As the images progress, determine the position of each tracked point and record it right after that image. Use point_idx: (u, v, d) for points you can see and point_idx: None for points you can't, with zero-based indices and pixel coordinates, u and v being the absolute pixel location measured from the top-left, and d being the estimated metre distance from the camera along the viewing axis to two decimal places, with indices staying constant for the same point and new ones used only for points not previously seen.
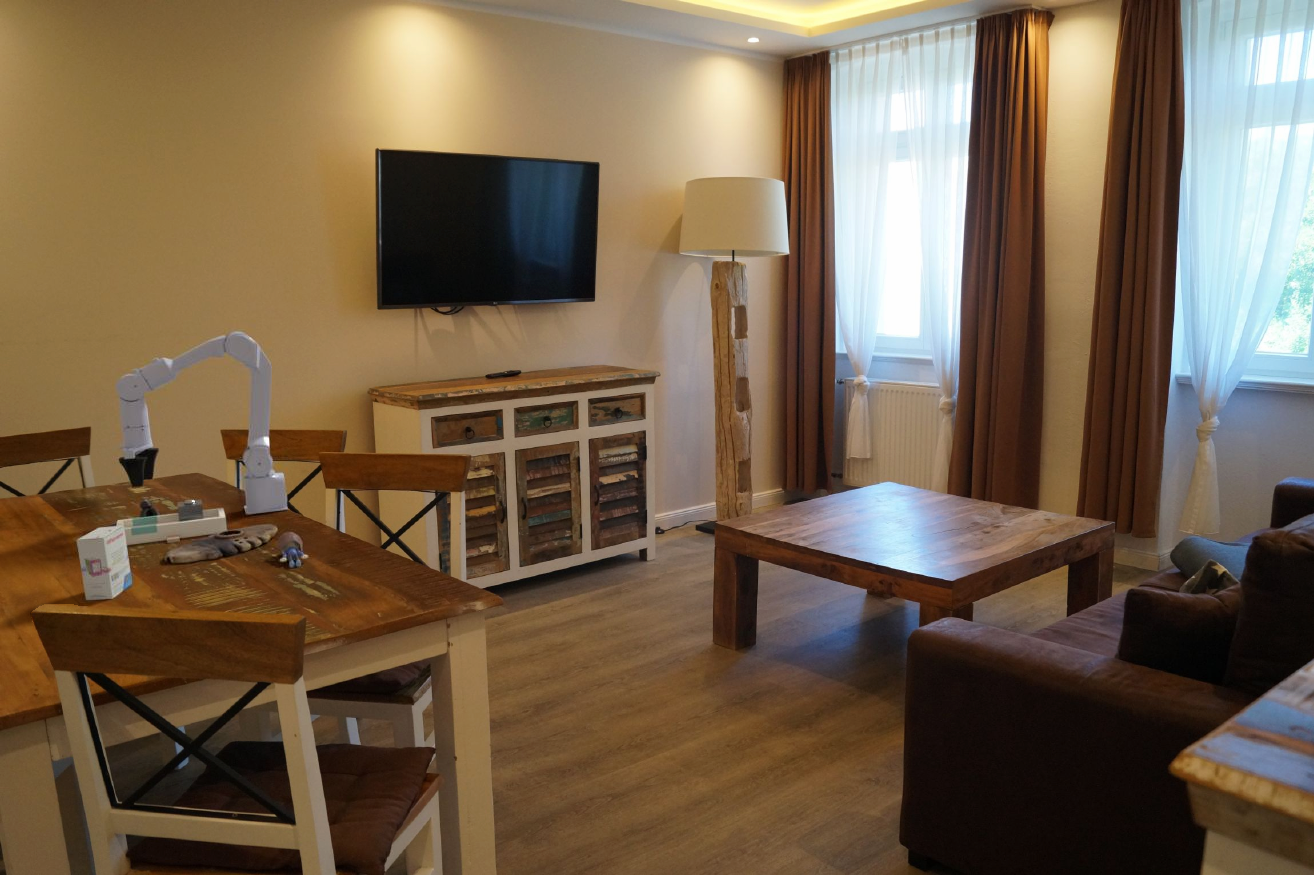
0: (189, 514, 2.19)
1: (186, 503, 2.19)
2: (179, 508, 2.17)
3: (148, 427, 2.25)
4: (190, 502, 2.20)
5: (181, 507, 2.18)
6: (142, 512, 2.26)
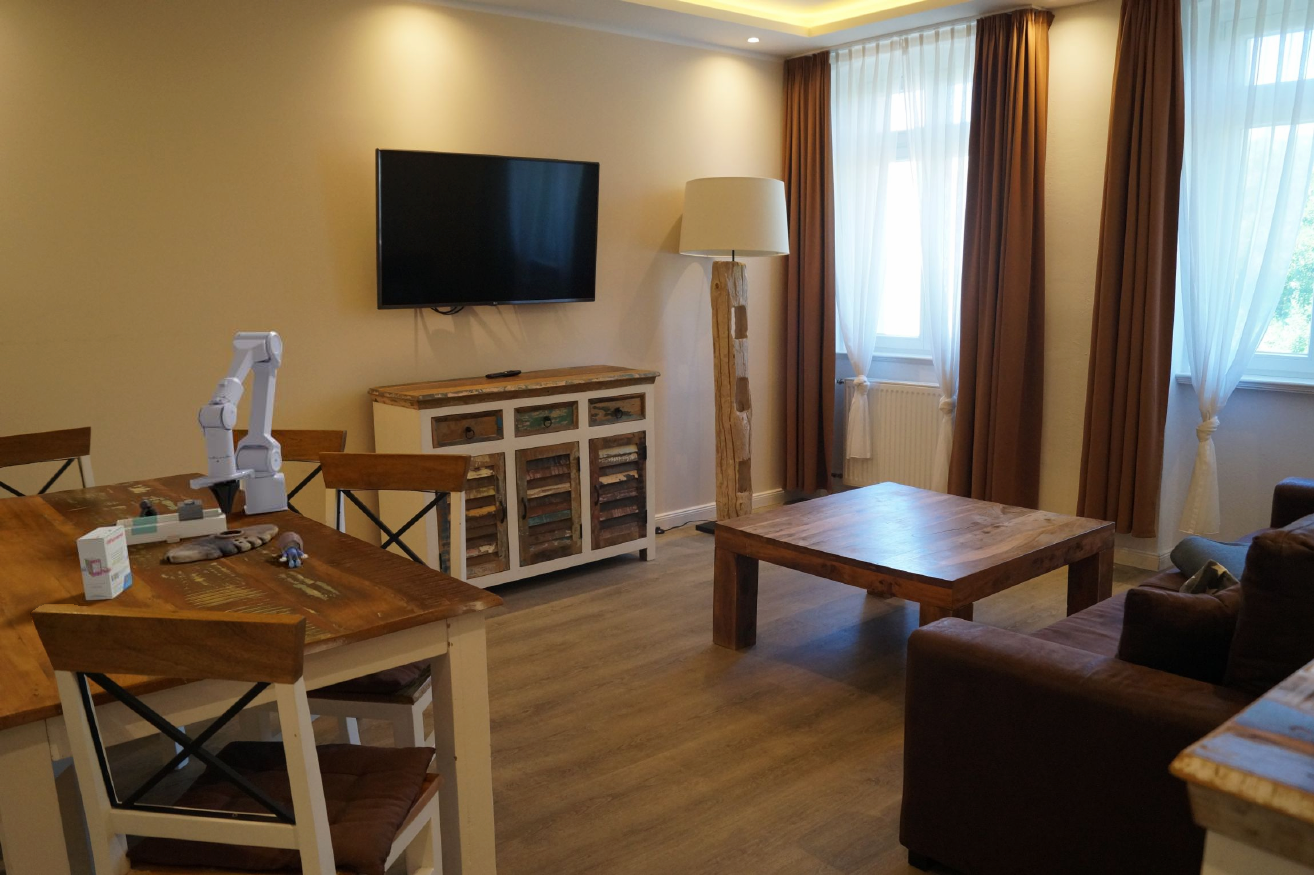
0: (189, 514, 2.19)
1: (186, 503, 2.19)
2: (179, 508, 2.17)
3: (226, 459, 2.20)
4: (190, 502, 2.20)
5: (181, 507, 2.18)
6: (141, 512, 2.26)
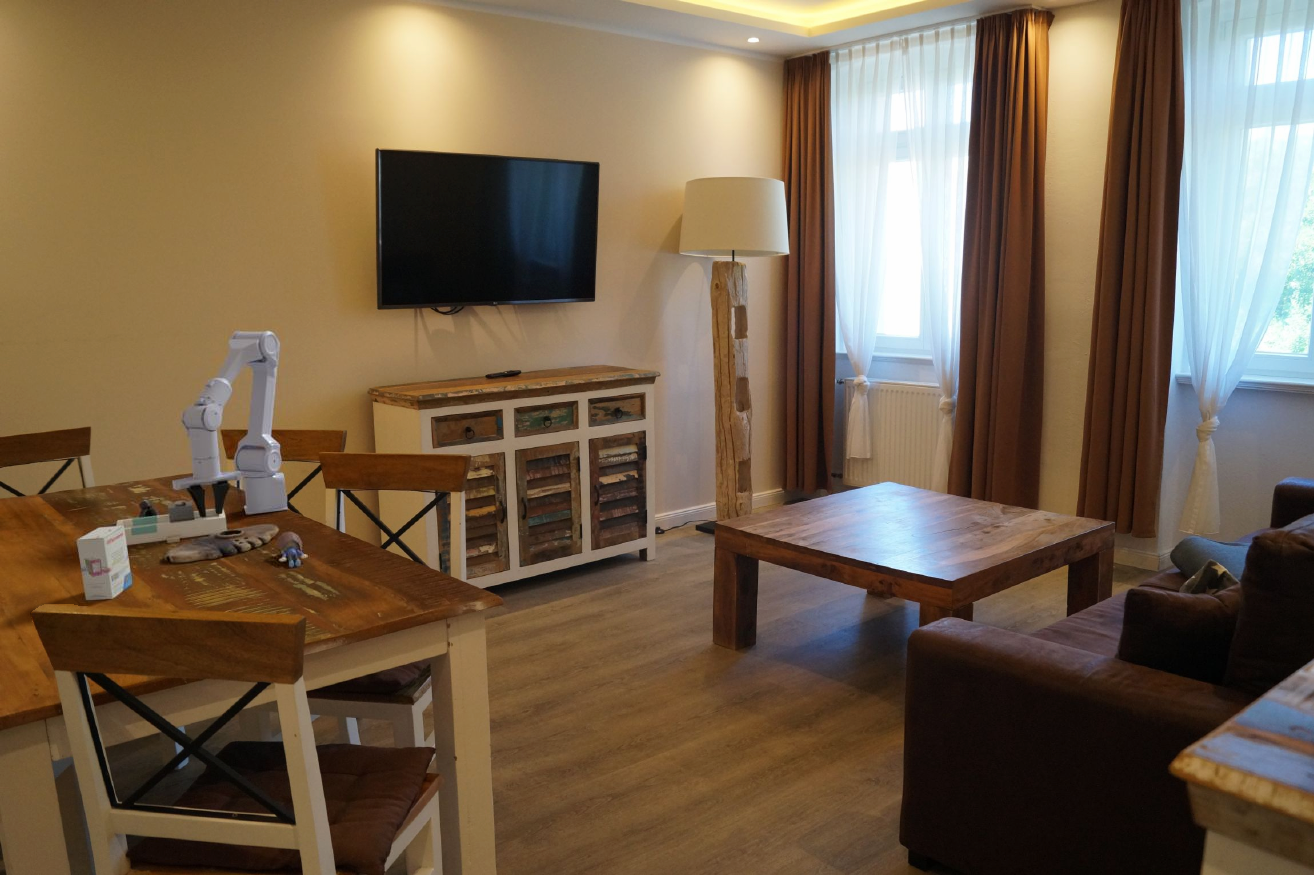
0: (179, 515, 2.18)
1: (177, 504, 2.19)
2: (170, 509, 2.17)
3: (208, 460, 2.18)
4: (181, 503, 2.19)
5: (172, 508, 2.17)
6: (141, 512, 2.26)
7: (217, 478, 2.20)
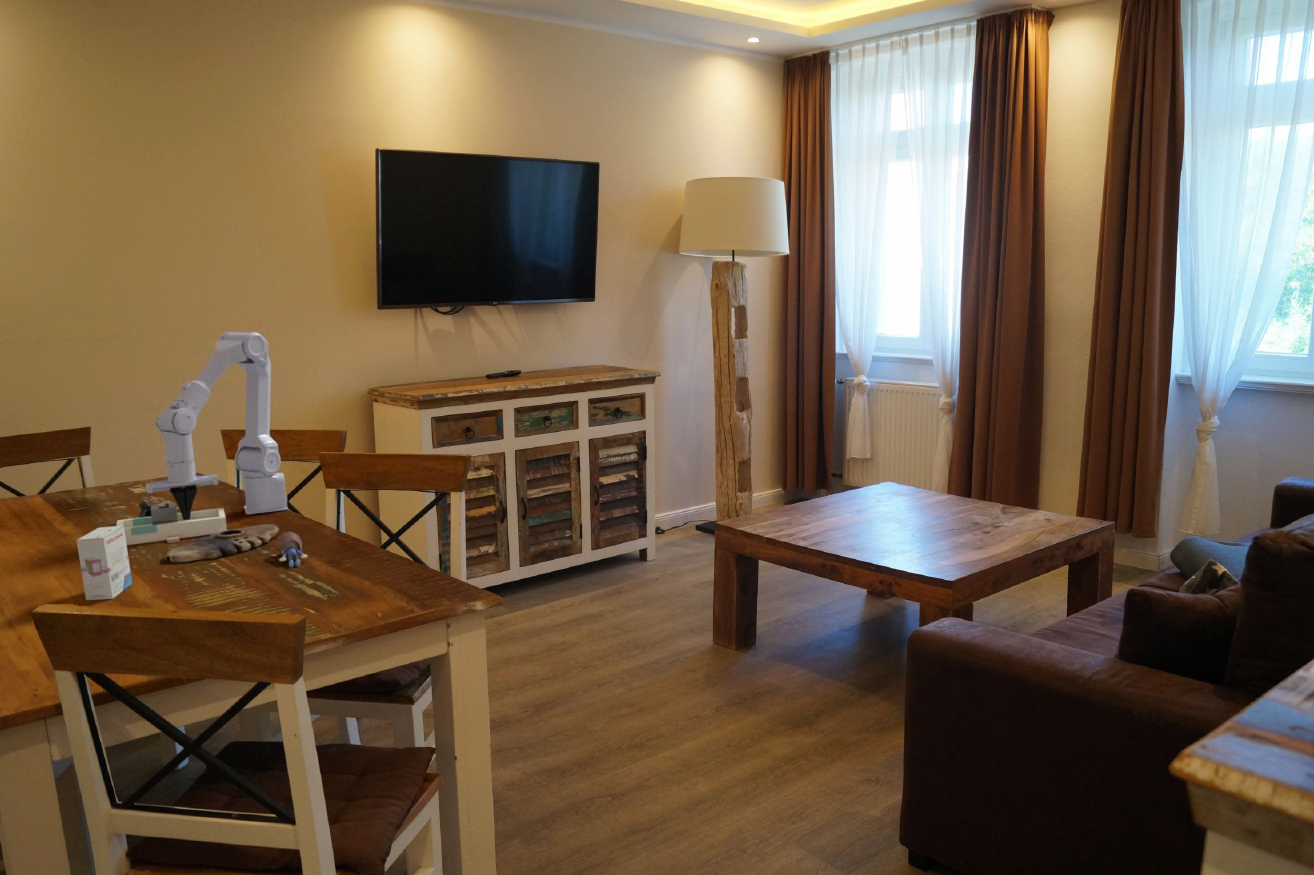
0: (162, 517, 2.16)
1: (160, 506, 2.17)
2: (152, 511, 2.15)
3: (180, 464, 2.16)
4: (164, 505, 2.17)
5: (154, 510, 2.15)
6: (141, 512, 2.26)
7: (190, 482, 2.17)
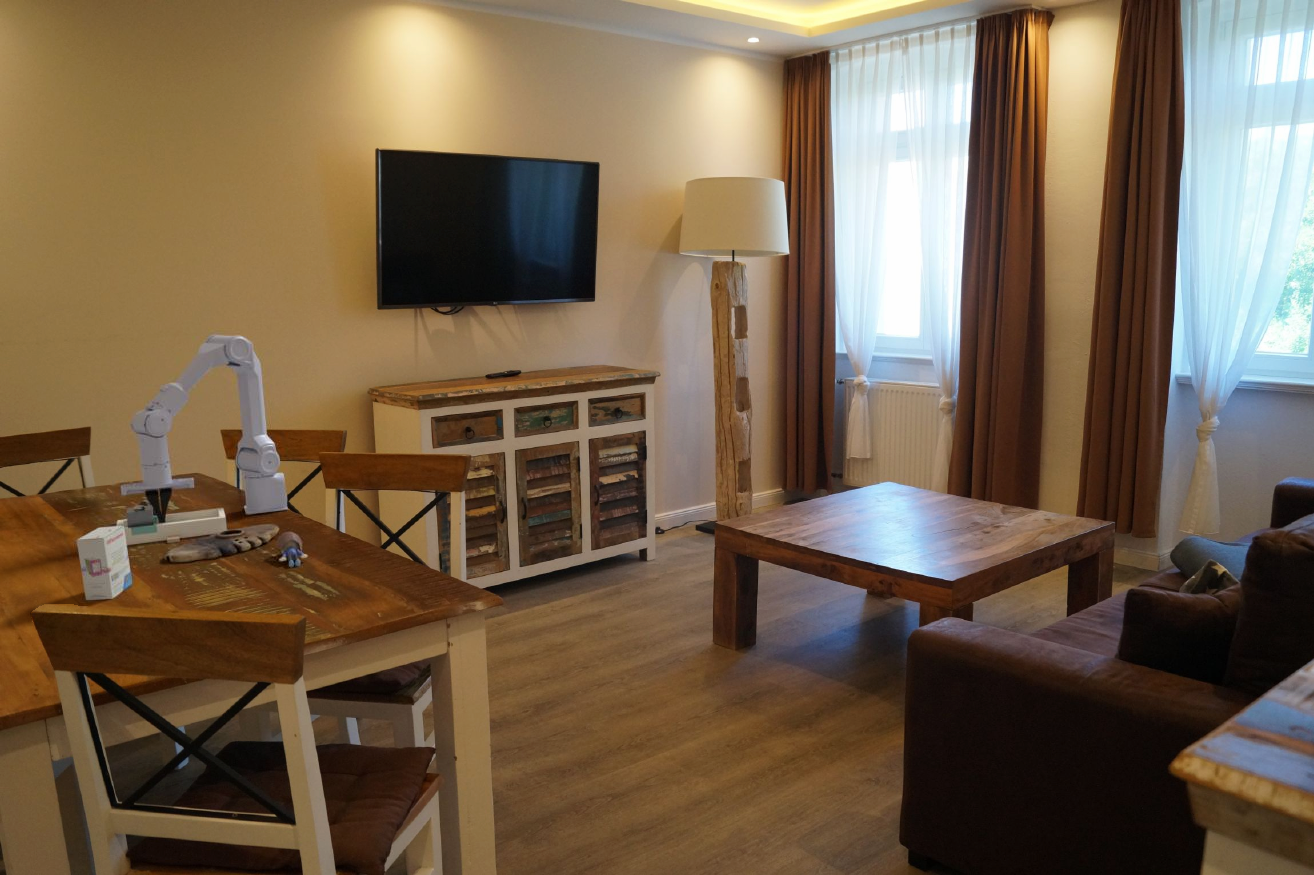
0: (138, 520, 2.14)
1: (135, 509, 2.15)
2: (128, 514, 2.13)
3: (154, 467, 2.14)
4: (140, 508, 2.15)
5: (130, 513, 2.13)
6: None
7: (163, 485, 2.15)
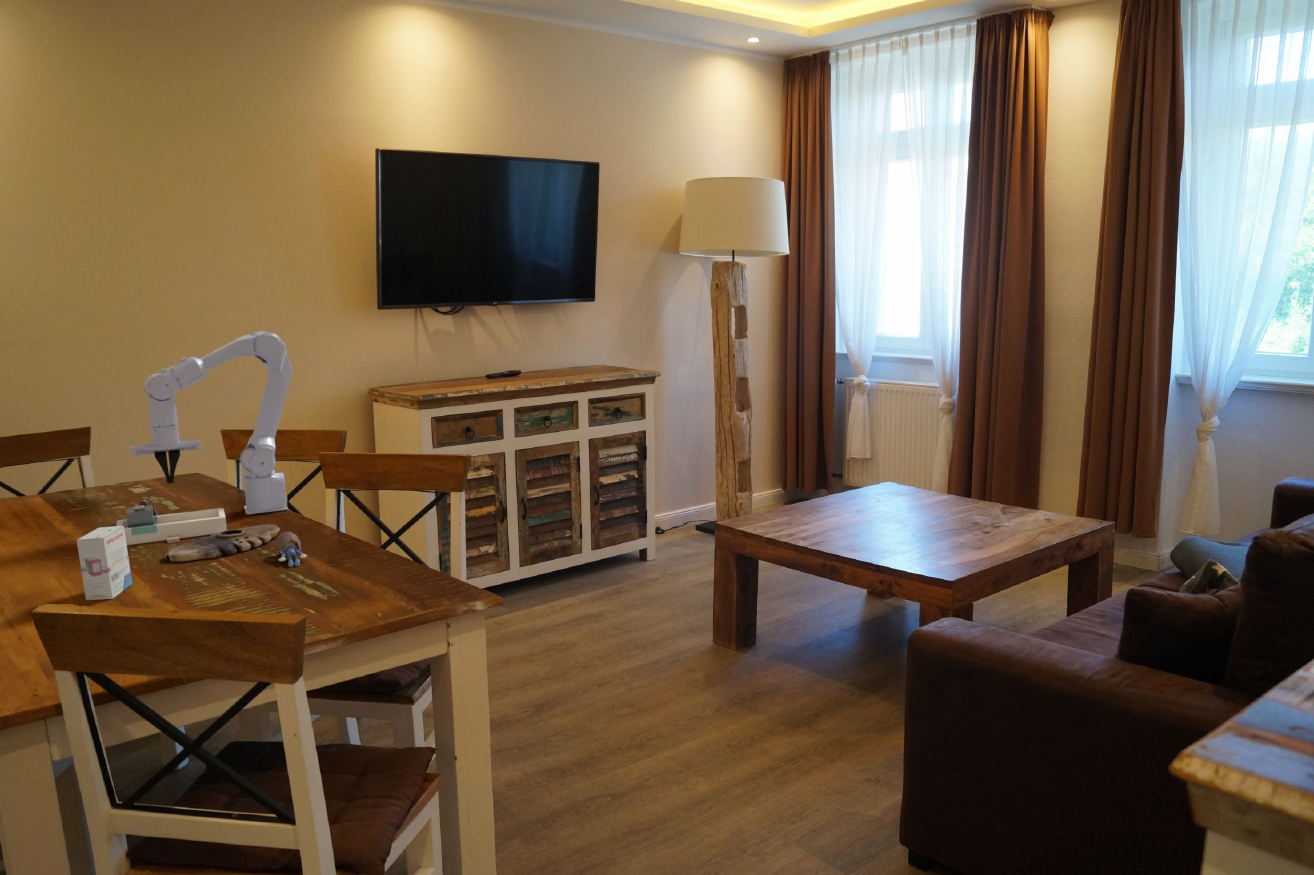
0: (138, 520, 2.14)
1: (135, 509, 2.15)
2: (128, 514, 2.13)
3: (163, 429, 2.22)
4: (139, 508, 2.15)
5: (130, 513, 2.13)
6: None
7: (172, 446, 2.24)
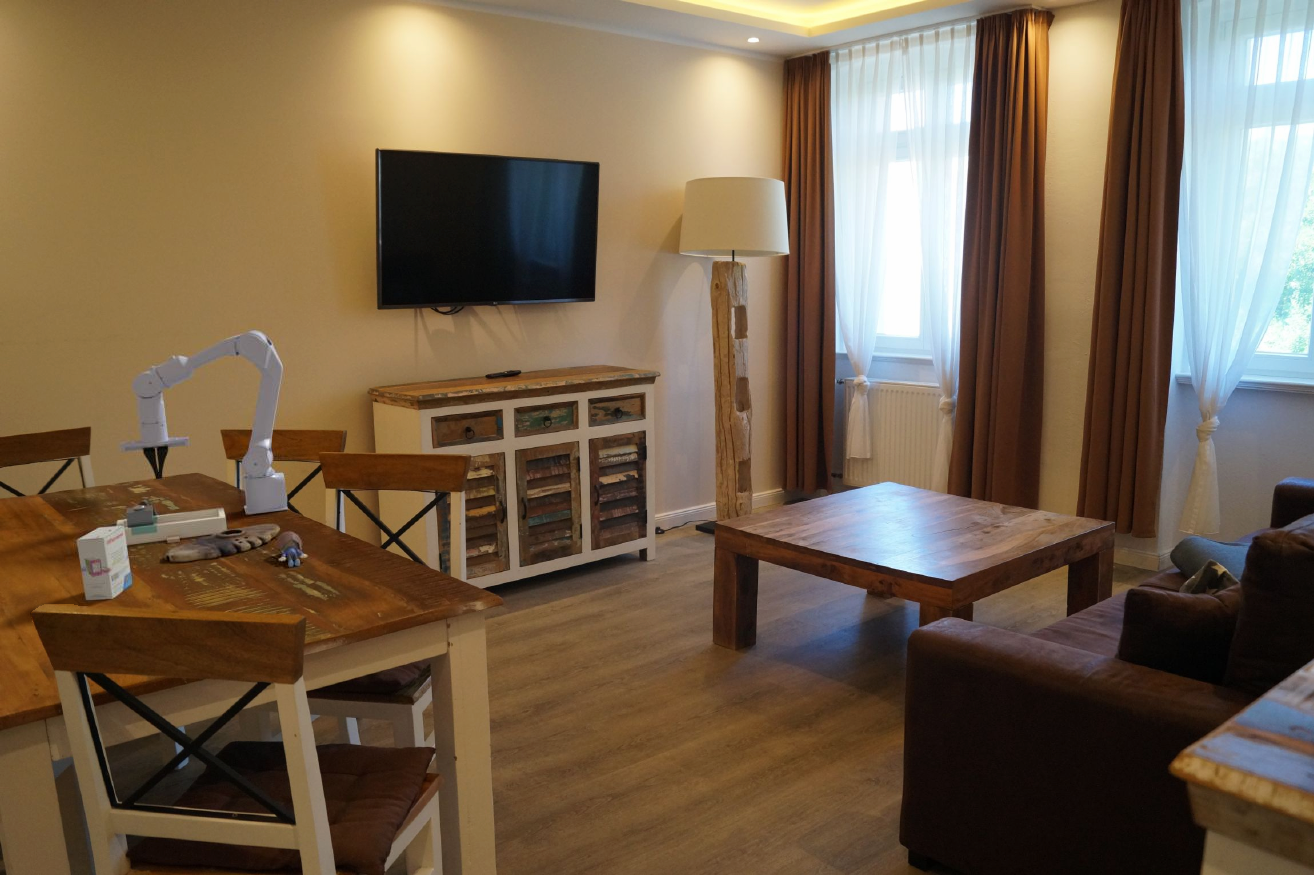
0: (138, 520, 2.14)
1: (135, 509, 2.15)
2: (128, 514, 2.13)
3: (151, 425, 2.27)
4: (139, 508, 2.15)
5: (130, 513, 2.13)
6: None
7: (160, 443, 2.29)
